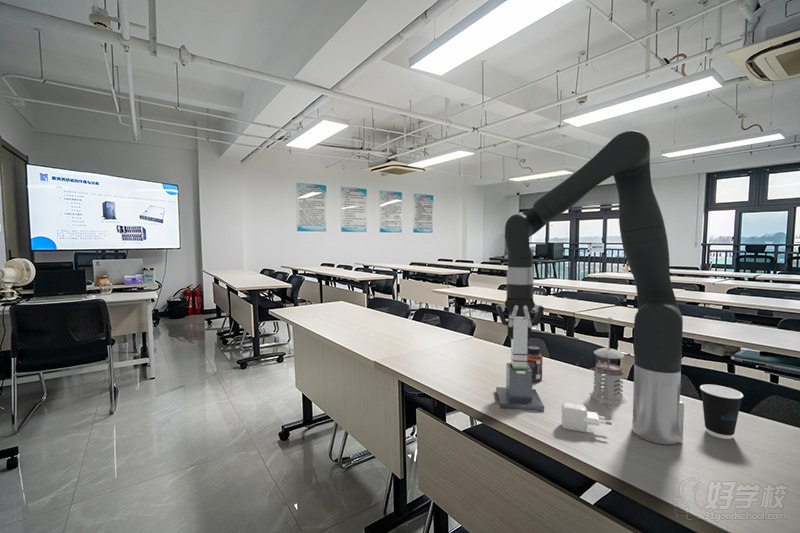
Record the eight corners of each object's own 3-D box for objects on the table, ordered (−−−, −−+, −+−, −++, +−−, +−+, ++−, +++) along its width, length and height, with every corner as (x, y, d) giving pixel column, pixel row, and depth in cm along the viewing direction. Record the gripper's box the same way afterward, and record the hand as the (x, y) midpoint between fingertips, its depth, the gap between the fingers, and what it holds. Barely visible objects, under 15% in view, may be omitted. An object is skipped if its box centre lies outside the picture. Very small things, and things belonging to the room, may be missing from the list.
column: (524, 374, 108) (525, 316, 107) (527, 379, 104) (528, 319, 103) (510, 373, 109) (511, 316, 108) (512, 378, 105) (513, 319, 104)
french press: (631, 398, 108) (634, 317, 106) (615, 409, 101) (618, 323, 99) (598, 388, 116) (600, 313, 114) (581, 397, 109) (582, 317, 107)
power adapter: (609, 429, 90) (609, 407, 89) (612, 439, 85) (612, 415, 85) (561, 421, 94) (561, 400, 94) (561, 430, 90) (562, 408, 89)
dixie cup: (705, 422, 93) (706, 382, 92) (746, 436, 86) (748, 392, 86) (692, 431, 89) (694, 388, 88) (734, 446, 82) (737, 400, 81)
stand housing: (535, 393, 112) (535, 361, 111) (543, 411, 100) (544, 375, 99) (496, 391, 114) (496, 359, 113) (500, 408, 102) (500, 373, 101)
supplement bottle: (543, 382, 121) (544, 350, 120) (525, 381, 122) (525, 349, 121) (540, 376, 127) (540, 345, 126) (523, 375, 128) (523, 344, 127)
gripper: (496, 283, 102) (496, 341, 103) (548, 283, 100) (547, 343, 101) (494, 280, 110) (493, 335, 111) (542, 281, 107) (541, 336, 108)
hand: (519, 338), depth 106 cm, fingers closed on column, 4 cm apart
